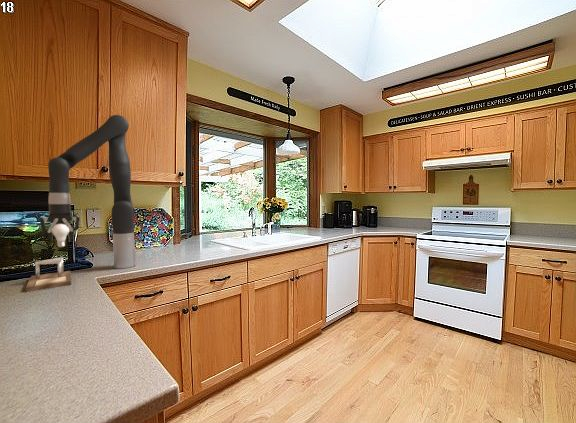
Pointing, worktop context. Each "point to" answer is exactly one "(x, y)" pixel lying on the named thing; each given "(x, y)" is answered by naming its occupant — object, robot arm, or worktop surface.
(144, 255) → the worktop surface
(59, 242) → the lightbulb
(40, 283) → the cork pad
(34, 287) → the walnut board
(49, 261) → the silver arch frame
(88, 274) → the worktop surface
